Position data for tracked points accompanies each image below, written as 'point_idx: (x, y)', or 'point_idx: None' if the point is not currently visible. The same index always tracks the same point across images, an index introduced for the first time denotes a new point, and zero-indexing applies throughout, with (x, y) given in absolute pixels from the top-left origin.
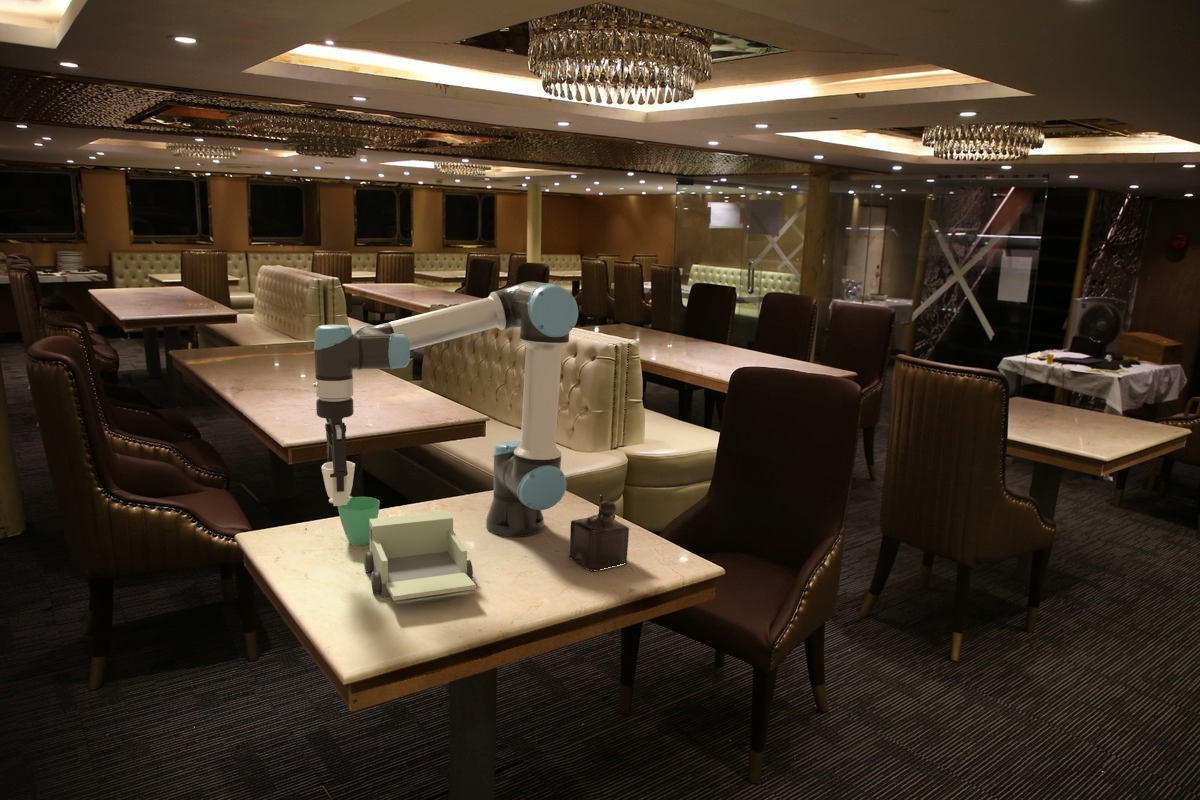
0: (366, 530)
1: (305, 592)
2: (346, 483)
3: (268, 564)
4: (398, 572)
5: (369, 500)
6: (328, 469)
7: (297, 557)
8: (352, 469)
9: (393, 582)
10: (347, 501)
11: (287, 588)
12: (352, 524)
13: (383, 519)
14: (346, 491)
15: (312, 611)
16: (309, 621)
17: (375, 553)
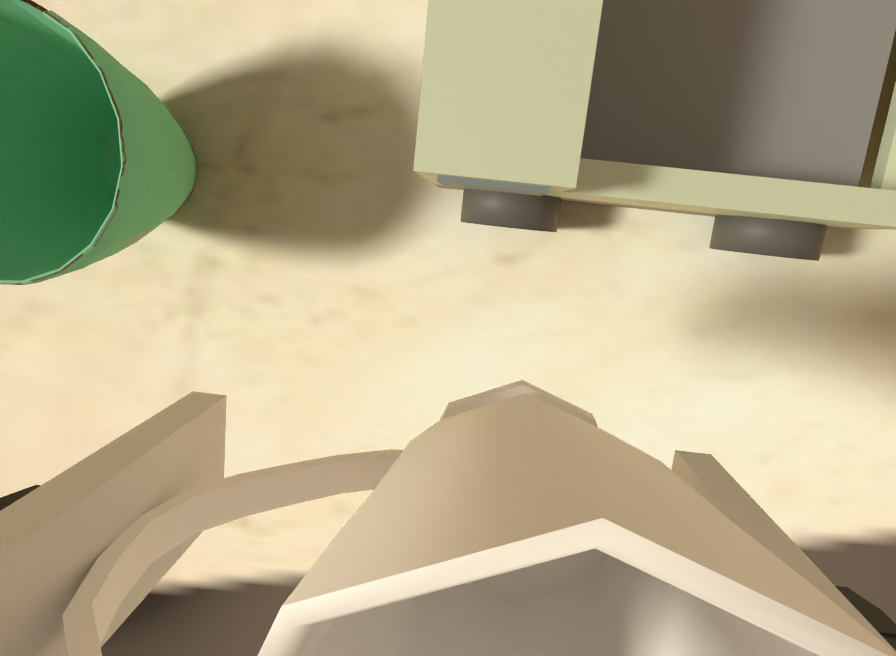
0: (177, 137)
1: None
2: (846, 602)
3: (275, 556)
4: (754, 115)
5: None
6: None
7: (242, 448)
8: (799, 590)
9: (891, 179)
10: (594, 423)
11: None
12: (155, 214)
13: (462, 73)
14: (780, 533)
15: (782, 495)
16: (858, 520)
17: (657, 204)
